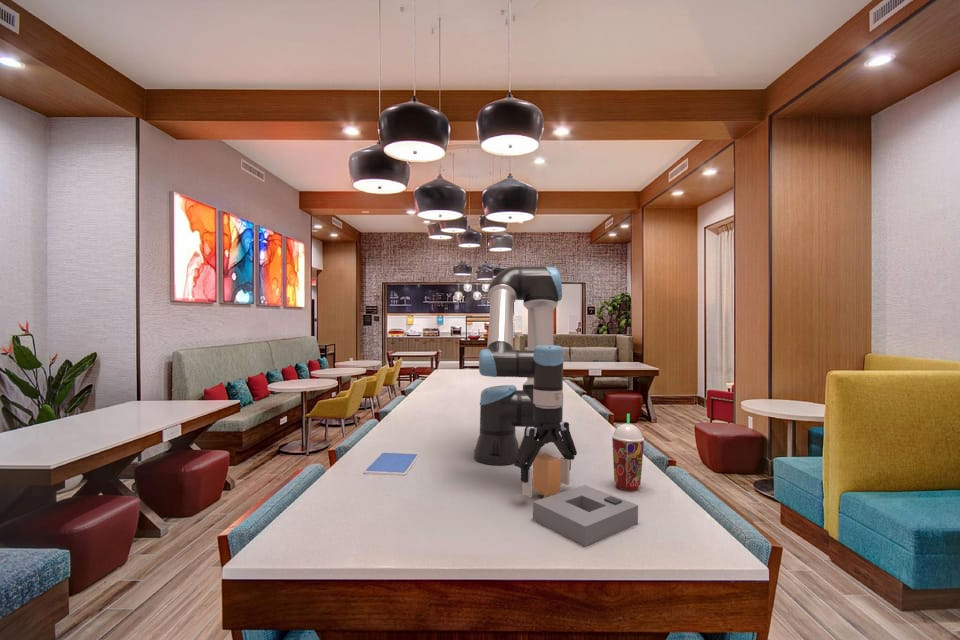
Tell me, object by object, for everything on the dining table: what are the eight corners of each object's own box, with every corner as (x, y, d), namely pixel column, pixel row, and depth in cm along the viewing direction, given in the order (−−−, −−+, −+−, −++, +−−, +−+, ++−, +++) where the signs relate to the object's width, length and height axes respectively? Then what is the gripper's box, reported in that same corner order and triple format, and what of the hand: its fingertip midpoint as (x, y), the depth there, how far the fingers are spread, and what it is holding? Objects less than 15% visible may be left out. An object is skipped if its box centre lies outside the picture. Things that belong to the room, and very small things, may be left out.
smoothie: (645, 494, 117) (647, 417, 117) (612, 491, 119) (613, 416, 119) (640, 483, 125) (642, 411, 125) (610, 480, 127) (611, 410, 127)
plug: (532, 495, 115) (533, 456, 115) (544, 491, 118) (545, 453, 118) (547, 502, 111) (548, 461, 111) (560, 498, 114) (560, 458, 114)
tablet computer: (381, 455, 148) (382, 451, 148) (419, 457, 148) (419, 453, 148) (362, 475, 129) (362, 471, 129) (405, 477, 128) (405, 473, 128)
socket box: (532, 519, 101) (533, 499, 101) (584, 500, 112) (585, 482, 112) (585, 546, 89) (585, 524, 89) (637, 523, 100) (638, 503, 100)
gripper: (521, 413, 104) (520, 505, 104) (591, 403, 119) (589, 483, 119) (500, 408, 110) (499, 494, 110) (569, 399, 125) (568, 475, 125)
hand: (546, 489), depth 114 cm, fingers open, 13 cm apart
